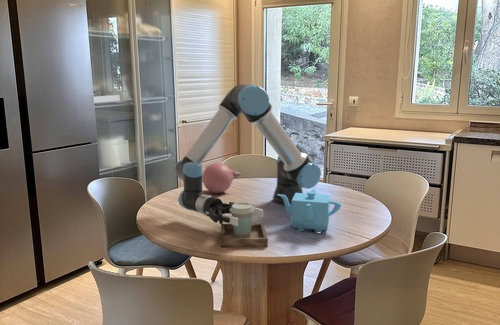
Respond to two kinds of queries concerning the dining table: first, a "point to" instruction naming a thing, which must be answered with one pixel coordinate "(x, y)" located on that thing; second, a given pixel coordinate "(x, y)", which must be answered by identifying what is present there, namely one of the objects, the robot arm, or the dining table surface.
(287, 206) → the teakettle
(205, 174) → the pink balloon
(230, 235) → the wooden tray
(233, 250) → the dining table surface
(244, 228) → the coffee cup
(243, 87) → the robot arm
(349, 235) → the dining table surface
